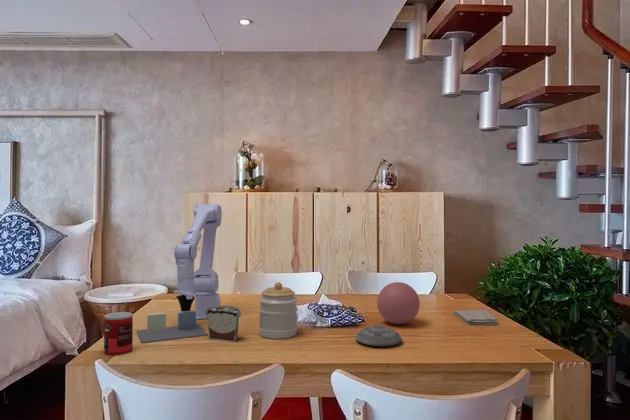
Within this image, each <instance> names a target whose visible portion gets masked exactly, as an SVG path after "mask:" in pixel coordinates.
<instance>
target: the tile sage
mask: <svg viewBox="0 0 630 420" xmlns="http://www.w3.org/2000/svg"><path fill="white" fill-rule="evenodd" d="M166 327H167V313H166V312H160V313H158V312H157V313H150V314H148V313H147V314H146V329H147V333H154V332H163V331H166Z"/></svg>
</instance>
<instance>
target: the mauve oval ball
mask: <svg viewBox="0 0 630 420" xmlns="http://www.w3.org/2000/svg"><path fill="white" fill-rule="evenodd" d="M420 302H421V301H420V297H419V295H418V293H417V291H416V290H415V288H413V287H412V285H409V284H407V283H405V282H399V281H396V282H395V281H394V282H391V283H388V284H387V285H385V286H384V287H382V289H381V290H380V291H379V294H378V295H377V309H378V312H379V314H380V315H381V317H382V318H383V319H385V321H386V322H388V323H390V324H393V325H406V324H408V323H410V322H412V321H413V320H414V319H415V318H416V316H417V315H418V313H419V311H420V307H421V306H420Z"/></svg>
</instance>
